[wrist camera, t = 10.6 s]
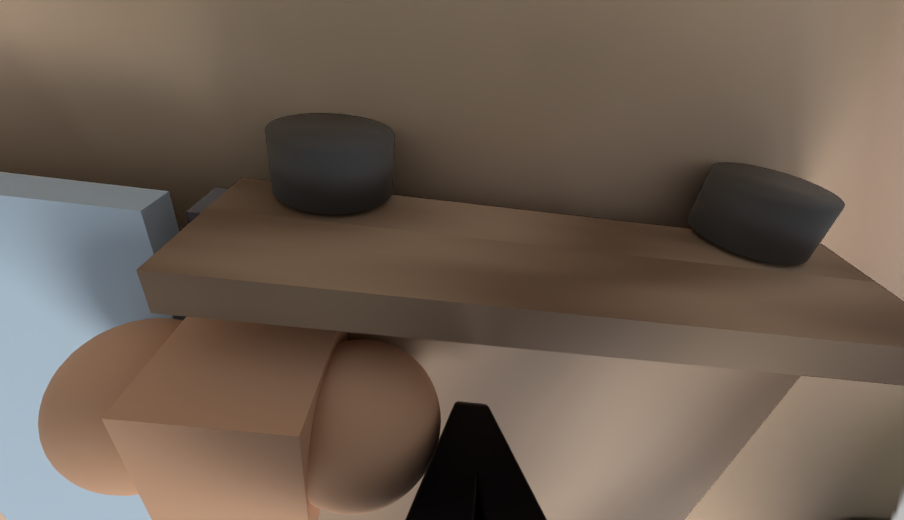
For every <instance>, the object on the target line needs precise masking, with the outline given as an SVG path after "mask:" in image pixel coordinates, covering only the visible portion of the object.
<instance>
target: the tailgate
mask: <svg viewBox="0 0 904 520" xmlns="http://www.w3.org/2000/svg"><path fill="white" fill-rule="evenodd" d="M178 233H179V228H178V224H177V221H176V217H175V213H174V209H173V205H172V201H171V197H170V193H169V191H163V190H155V189H146V188H137V187H129V186H120V185H111V184H102V183H94V182H85V181H76V180H68V179H59V178H50V177H41V176H33V175H24V174H15V173H7V172H0V512H1V513H2V514H3V515H4V517H5V518H6V519H7V520H152V519H151V517H150V515H149V513H148V511H147V509H146V507H145V505H144V503H143V501H142V499H141V497H140V495H131V496H116V495H105V494H99V493H95V492H92V491H88V490H86V489H83V488H81V487H79V486H77V485H75V484H73V483H71V482H70V481H69V480H67V479H66V478H65V477H63V476H62V475H61V474H60V473H59V472H58V471H57V470H56V469H55V468H54V467H53V466H52V464H51V463H50V461H49V460H48V458H47V457H46V455H45V453H44V450H43V448H42V445H41V442H40V438H39V430H38V417H39V409H40V405H41V401H42V398H43V394H44V392H45V390H46V388H47V386H48V384H49V382H50V380H51V378H52V377H53V375H54V374H55V372H56V371H57V370H58V368H59V367H60V366H61V365H62V364H63V362H64V361H65V360H66V359H67V358H68V357H69V356H70V355H71V354H72V353H73V352H74V351H75V350H77V349H78V348H79V347H80V346H82V345H83V344H84V343H86V342H87V341H89V340H90V339H92V338H93V337H95V336H97V335H98V334H100V333H103V332H105V331H107V330H109V329H111V328H113V327H116V326H119V325H122V324H126V323H129V322H132V321H138V320H144V319H151V318H169V319H178V320H184V319H185V318H186V316H176V315H165V314H155V313H151V312H150V309H149V306H148V303H147V300H146V297H145V294H144V291H143V289H142V286H141V283H140V280H139V277H138V274H137V271H136V270H137V269H138V268H139V267H140V266H141V265H142V264H143V263H145V262H146V261H147V260H148V259H149V258H150V257H151V256H153V255H154V254H155V253H156V252H157V251H158V250H159V249H161V248H162V247H163V246H164V245H165V244H166V243H167V242H168V241H170V240H171V239H172V238H173V237H174V236H175V235H176V234H178Z"/></svg>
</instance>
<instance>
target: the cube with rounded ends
mask: <svg viewBox="0 0 904 520" xmlns="http://www.w3.org/2000/svg"><path fill="white" fill-rule="evenodd" d="M440 427H441V412H440V405H439V400H438V396H437V393H436V390H435V388H434V385H433V383H432V381H431V379H430V377H429V376H428V374H427V372H426V371H425V370H424V368H423V367H422V366H421V365H420V364H419V363H418V362H417V361H416V360H415V359H414V358H413V357H412V356H411V355H409V354H408V353H407V352H405V351H403V350H402V349H400V348H398V347H396V346H394V345H391V344H389V343H386V342H382V341H377V340H369V339H358V340H350V341H347V332H342V331H332V330H321V329H311V328H301V327H290V326H280V325H269V324H259V323H249V322H238V321H228V320H217V319H207V318H197V317H186V318H185V319H184V320H178V319H169V318H151V319H144V320H138V321H132V322H129V323H126V324H122V325H119V326H116V327H113V328H111V329H109V330H107V331H105V332H103V333H100V334H98V335H97V336H95V337H93V338H92V339H90V340H89V341H87V342H86V343H84V344H83V345H82V346H80V347H79V348H78V349H77V350H75V351H74V352H73V353H72V354H71V355H70V356H69V357H68V358H67V359H66V360H65V361H64V362H63V364H62V365H61V366H60V367H59V368H58V370H57V371H56V372H55V374H54V375H53V377H52V378H51V380H50V382H49V384H48V386H47V388H46V390H45V392H44V394H43V398H42V401H41V405H40V409H39V417H38V430H39V438H40V442H41V445H42V448H43V450H44V453H45V455H46V457H47V458H48V460H49V461H50V463H51V464H52V466H53V467H54V468H55V469H56V470H57V471H58V472H59V473H60V474H61V475H62V476H63V477H65V478H66V479H67V480H69V481H70V482H71V483H73V484H75V485H77V486H79V487H81V488H83V489H86V490H88V491H92V492H95V493H99V494H105V495H116V496H131V495H140V497H141V499H142V501H143V503H144V505H145V507H146V509H147V511H148V513H149V515H150V517H151V519H152V520H318V517H319V513H320V509H322V510H325V511H328V512H331V513H336V514H343V515H359V514H366V513H370V512H374V511H377V510H380V509H383V508H385V507H387V506H389V505H391V504H392V503H394V502H396V501H398V500H399V499H401V498H402V497H403V496H404V495H405V494H407V493H408V492H409V491H410V490H411V489H412V488H413V487H414V486H415V485H416V484H417V483H418V482H419V480H420V479H421V478H422V477H423V475H424V474H425V472H426V469H427V467H428V465H429V462H430V460H431V457H432V455H433V453H434V450H435V448H436V446H437V443H438V441H439V436H440Z"/></svg>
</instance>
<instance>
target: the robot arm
mask: <svg viewBox="0 0 904 520" xmlns="http://www.w3.org/2000/svg"><path fill="white" fill-rule="evenodd" d="M405 520H547V519H546V517H545V515H544V513H543V511H542V509H541V507H540V505H539V503H538V501H537V499H536V497H535V495H534V493H533V491H532V490H531V488H530V486H529V484H528V482H527V480H526V478H525V476H524V474H523V472H522V470H521V468H520V466H519V464H518V462H517V460H516V458H515V456H514V454H513V453H512V451H511V449H510V447H509V445H508V443H507V441H506V439H505V437H504V435H503V433H502V431H501V429H500V427H499V425H498V423H497V421H496V419H495V417H494V416H493V414H492V412H491V410H490V408H489V406H488V405H486V404H482V403H472V402H461V401H457V402H455V403H454V405H453V408H452V410H451V412H450V415H449V417H448V420H447V422H446V424H445V427H444V429H443V431H442V434H441V436H440V438H439V441H438V443H437V446H436V448H435V450H434V453H433V455H432V457H431V460H430V462H429V465H428V467H427V469H426V472H425V474H424V476H423V479H422V481H421V484H420V486H419V488H418V491H417V493H416V495H415V498H414V500H413V503H412V505H411V507H410V510H409V512H408V514H407V517H406V519H405Z"/></svg>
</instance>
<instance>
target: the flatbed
mask: <svg viewBox="0 0 904 520" xmlns="http://www.w3.org/2000/svg"><path fill="white" fill-rule="evenodd" d="M265 133H266V141H267V150H268V159H269V167H270V176H271V181H267V180H259V179H250V178H240V179H239V180H238V181H237V182H236V183H234V184H233V185H232V186H231V187H230V188H229V189H223V188H214V189H213V190H212V191H210V192H209V193H208V194H207V195H205V196H204V197H203V198H202V199H201V200H199V201H198V202H197V203H196V204H195V205H193V206H192V207H191V208H190V209H189V210H187V211H186V214H187V218H188V222H189V224H188V225H187V226H186V227H184V228H183V229H182V230H181V231H180V232H179V233H178V234H176V235H175V236H174V237H173V238H172V239H171V240H170V241H168V242H167V243H166V244H165V245H164V246H163V247H162V248H161V249H159V250H158V251H157V252H156V253H155V254H154V255H153V256H151V257H150V258H149V259H148V260H147V261H146V262H145V263H143V264H142V265H141V266H140V267H139V268H138V269H137V270H136V271H137V274H138V277H139V280H140V283H141V286H142V289H143V291H144V294H145V297H146V300H147V303H148V306H149V309H150V312H151V313H155V314H165V315H176V316H186V317H197V318H207V319H217V320H228V321H238V322H249V323H259V324H269V325H280V326H290V327H301V328H311V329H321V330H332V331H342V332H347V341H350V340H358V339H369V340H377V341H382V342H386V343H389V344H391V345H394V346H396V347H398V348H400V349H402V350H403V351H405V352H407V353H408V354H409V355H411V356H412V357H413V358H414V359H415V360H416V361H417V362H418V363H419V364H420V365H421V366H422V367H423V368H424V370H425V371H426V372H427V374H428V376H429V377H430V379H431V381H432V383H433V385H434V388H435V390H436V393H437V396H438V400H439V405H440V412H441V427H440V436H441V434H442V431H443V429H444V427H445V424H446V422H447V420H448V417H449V415H450V412H451V410H452V408H453V405H454V403H455V402H457V401H461V402H472V403H482V404H486V405H488V406H489V408H490V410H491V412H492V414H493V416H494V417H495V419H496V421H497V423H498V425H499V427H500V429H501V431H502V433H503V435H504V437H505V439H506V441H507V443H508V445H509V447H510V449H511V451H512V453H513V454H514V456H515V458H516V460H517V462H518V464H519V466H520V468H521V470H522V472H523V474H524V476H525V478H526V480H527V482H528V484H529V486H530V488H531V490H532V491H533V493H534V495H535V497H536V499H537V501H538V503H539V505H540V507H541V509H542V511H543V513H544V515H545V517H546V519H547V520H685V518H686V517H687V516H688V515H689V513H690V512H691V511H692V510H693V508H694V507H695V506H696V505H697V503H698V502H699V501H700V500H701V498H702V497H703V496H704V495H705V494H706V492H707V491H708V490H709V489H710V487H711V486H712V485H713V484H714V482H715V481H716V480H717V479H718V477H719V476H720V475H721V474H722V473H723V471H724V470H725V469H726V468H727V466H728V465H729V464H730V463H731V461H732V460H733V459H734V458H735V456H736V455H737V454H738V453H739V451H740V450H741V449H742V448H743V447H744V445H745V444H746V443H747V442H748V440H749V439H750V438H751V437H752V435H753V434H754V433H755V432H756V430H757V429H758V428H759V427H760V425H761V424H762V423H763V422H764V421H765V419H766V418H767V417H768V416H769V414H770V413H771V412H772V411H773V409H774V408H775V407H776V406H777V404H778V403H779V402H780V401H781V399H782V398H783V397H784V396H785V395H786V393H787V392H788V391H789V390H790V388H791V387H792V386H793V385H794V383H795V382H796V381H797V380H798V378H799V377H800V376H811V377H821V378H832V379H842V380H853V381H863V382H873V383H884V384H894V385H904V301H902V300H901V299H899V298H898V297H897V296H895V295H894V294H892V293H891V292H889V291H888V290H887V289H885V288H884V287H882V286H881V285H880V284H878V283H877V282H875V281H874V280H872V279H871V278H870V277H868V276H867V275H865V274H864V273H862V272H861V271H860V270H858V269H857V268H855V267H854V266H853V265H851V264H850V263H848V262H847V261H845V260H844V259H843V258H841V257H840V256H838V255H837V254H835V253H834V252H833V251H831V250H830V249H828V248H827V247H825V246H824V245H823V244H819V243H820V242H821V241H822V239H823V238H824V236H825V235H826V233H827V232H828V230H829V229H830V227H831V226H832V224H833V223H834V221H835V220H836V218H837V217H838V216H839V214H840V213H841V211H842V210H843V208H844V206H845V204H844V202H843V201H842V200H841V199H840V198H839V197H838V196H836V195H835V194H833V193H832V192H830V191H828V190H826V189H824V188H822V187H820V186H818V185H816V184H813V183H811V182H808V181H806V180H803V179H800V178H797V177H795V176H791V175H788V174H785V173H782V172H778V171H774V170H770V169H766V168H762V167H757V166H752V165H745V164H737V163H718V164H714V165H713V166H711V168H710V171H709V173H708V175H707V177H706V179H705V181H704V183H703V186H702V188H701V190H700V192H699V194H698V196H697V198H696V201H695V203H694V205H693V207H692V209H691V211H690V213H689V216H688V223H689V224H690V226H691V227H692V228H693V229H687V228H678V227H669V226H661V225H652V224H643V223H634V222H626V221H617V220H608V219H599V218H591V217H582V216H573V215H564V214H556V213H547V212H538V211H529V210H521V209H512V208H503V207H494V206H486V205H477V204H468V203H460V202H451V201H442V200H433V199H425V198H416V197H407V196H398V195H392V183H393V162H394V141H395V134H394V132H393V131H392V130H391V129H390V128H389V127H387V126H386V125H384V124H381V123H379V122H376V121H373V120H370V119H366V118H362V117H357V116H351V115H343V114H330V113H309V114H297V115H291V116H286V117H282V118H278V119H276V120H273V121H272V122H270V123H269V124H267V126H266V127H265ZM440 436H439V438H440ZM423 476H424V475H423ZM422 479H423V477H422V478H421V479H420V480H419V482H418V483H417V484H416V485H415V486H414V487H413V488H412V489H411V490H410V491H409V492H408V493H407V494H405V495H404V496H403V497H402V498H401V499H399V500H398V501H396V502H394V503H392V504H391V505H389V506H387V507H385V508H383V509H380V510H377V511H374V512H370V513H366V514H359V515H343V514H336V513H331V512H328V511H325V510H322V509H320V513H319V517H318V520H405V519H406V517H407V514H408V512H409V510H410V507H411V505H412V503H413V500H414V498H415V495H416V493H417V491H418V488H419V486H420V484H421V481H422Z"/></svg>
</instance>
